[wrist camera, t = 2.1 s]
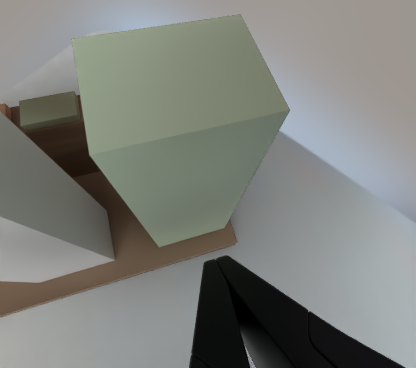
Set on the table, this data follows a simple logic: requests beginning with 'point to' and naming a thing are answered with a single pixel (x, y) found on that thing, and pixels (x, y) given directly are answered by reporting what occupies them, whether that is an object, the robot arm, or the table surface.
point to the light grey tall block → (45, 215)
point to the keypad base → (105, 195)
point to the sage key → (178, 119)
